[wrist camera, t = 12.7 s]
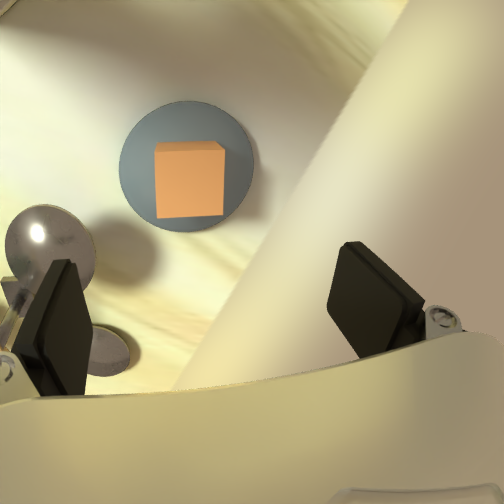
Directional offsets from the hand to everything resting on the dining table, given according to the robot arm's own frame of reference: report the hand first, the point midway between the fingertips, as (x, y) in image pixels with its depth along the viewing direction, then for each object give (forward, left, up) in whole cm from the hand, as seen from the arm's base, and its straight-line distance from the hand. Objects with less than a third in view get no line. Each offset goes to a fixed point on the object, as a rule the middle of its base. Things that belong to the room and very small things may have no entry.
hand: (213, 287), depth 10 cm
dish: (0, 0, -20) cm, 20 cm away
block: (0, 0, -18) cm, 18 cm away
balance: (+13, -15, -20) cm, 28 cm away
